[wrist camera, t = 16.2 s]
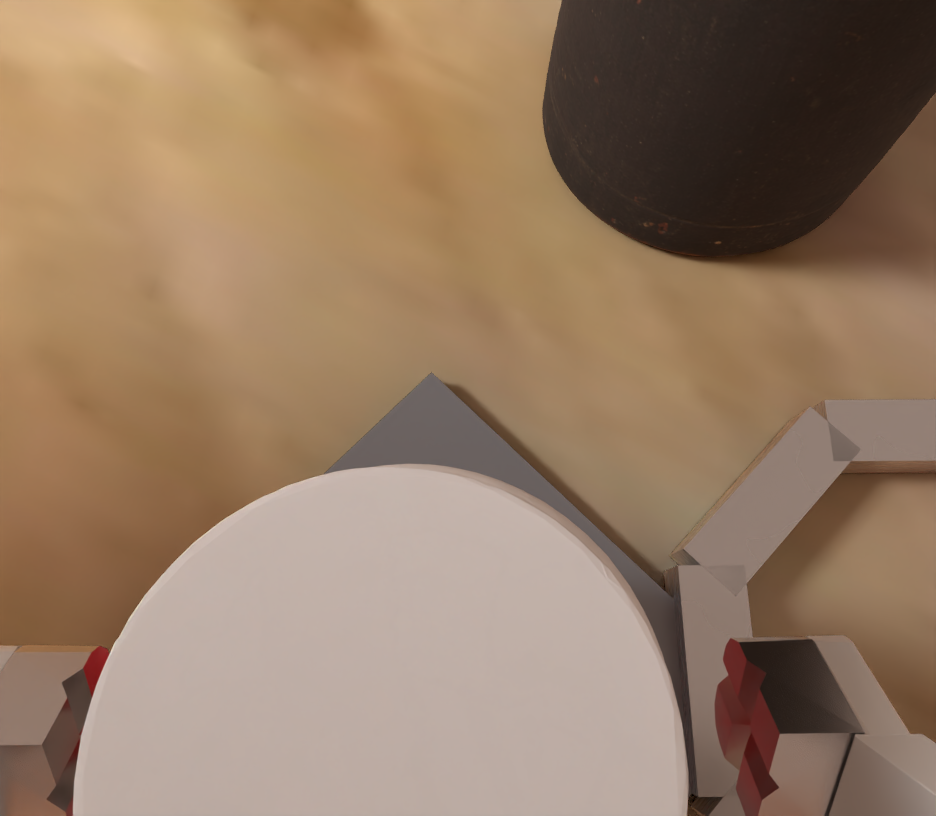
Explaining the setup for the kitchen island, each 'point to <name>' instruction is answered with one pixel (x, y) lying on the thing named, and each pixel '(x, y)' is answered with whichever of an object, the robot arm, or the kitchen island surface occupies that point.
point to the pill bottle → (386, 665)
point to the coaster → (483, 451)
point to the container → (730, 111)
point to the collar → (770, 551)
